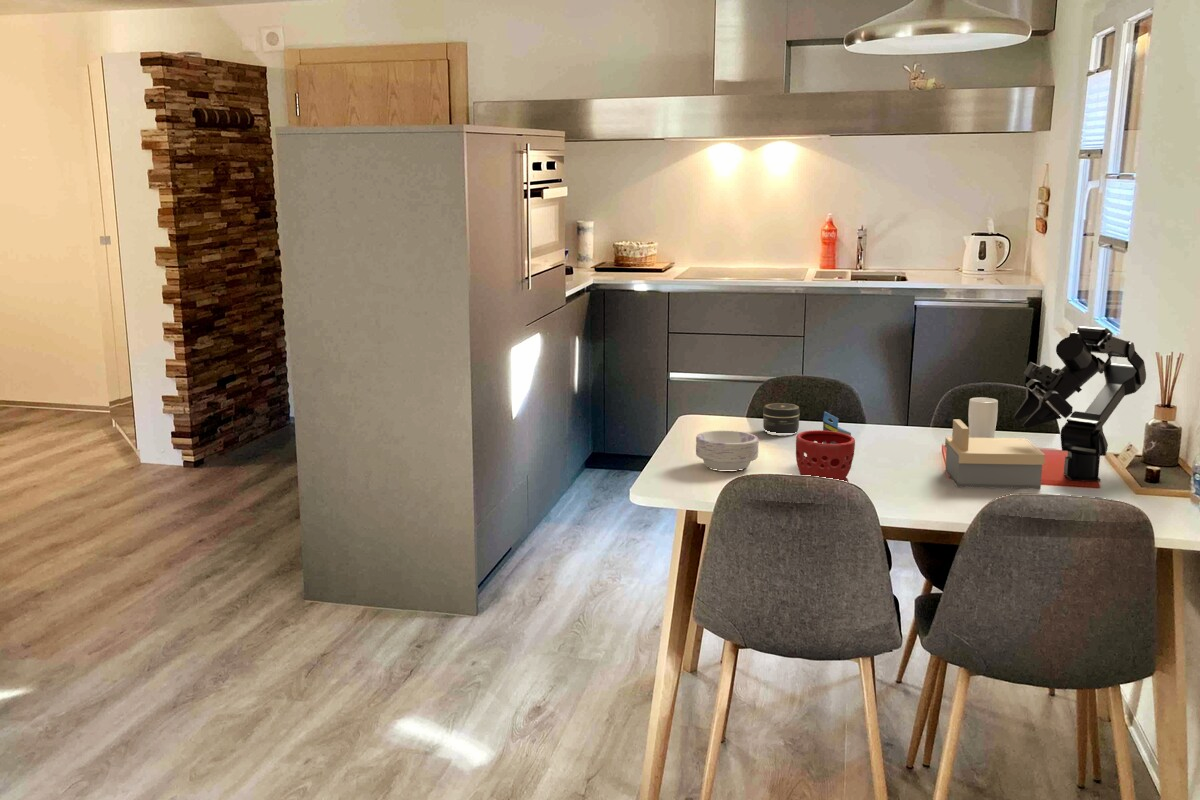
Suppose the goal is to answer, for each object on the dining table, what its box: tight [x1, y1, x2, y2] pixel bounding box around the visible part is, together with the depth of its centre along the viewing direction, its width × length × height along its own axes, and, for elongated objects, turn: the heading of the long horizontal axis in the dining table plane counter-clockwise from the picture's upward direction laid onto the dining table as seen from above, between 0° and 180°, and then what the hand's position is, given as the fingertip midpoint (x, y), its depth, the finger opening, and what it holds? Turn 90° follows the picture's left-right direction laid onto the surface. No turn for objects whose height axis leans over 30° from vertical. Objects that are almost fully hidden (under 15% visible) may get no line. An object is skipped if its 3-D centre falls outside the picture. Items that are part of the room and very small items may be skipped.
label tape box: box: [822, 411, 852, 460], centre depth 261 cm, size 9×4×12 cm, turn 12°
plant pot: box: [795, 429, 856, 483], centre depth 240 cm, size 13×13×12 cm
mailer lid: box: [944, 418, 1046, 466], centre depth 243 cm, size 18×16×7 cm
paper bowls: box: [695, 429, 760, 470], centre depth 258 cm, size 15×15×8 cm
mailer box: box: [944, 443, 1043, 490], centre depth 244 cm, size 18×14×7 cm
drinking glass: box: [968, 396, 999, 438], centre depth 263 cm, size 7×7×15 cm
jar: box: [762, 402, 800, 433], centre depth 295 cm, size 10×10×8 cm
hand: (1019, 422), depth 242 cm, fingers open, 8 cm apart
